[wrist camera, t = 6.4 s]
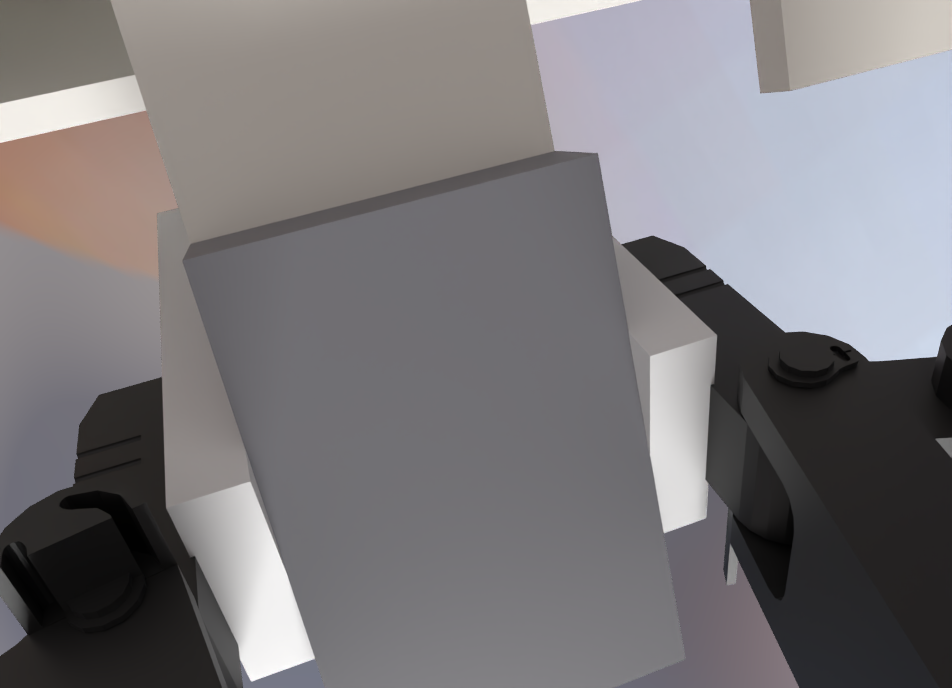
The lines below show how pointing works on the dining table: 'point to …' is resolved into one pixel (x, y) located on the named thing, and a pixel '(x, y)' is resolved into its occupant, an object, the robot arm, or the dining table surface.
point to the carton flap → (436, 321)
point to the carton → (103, 62)
